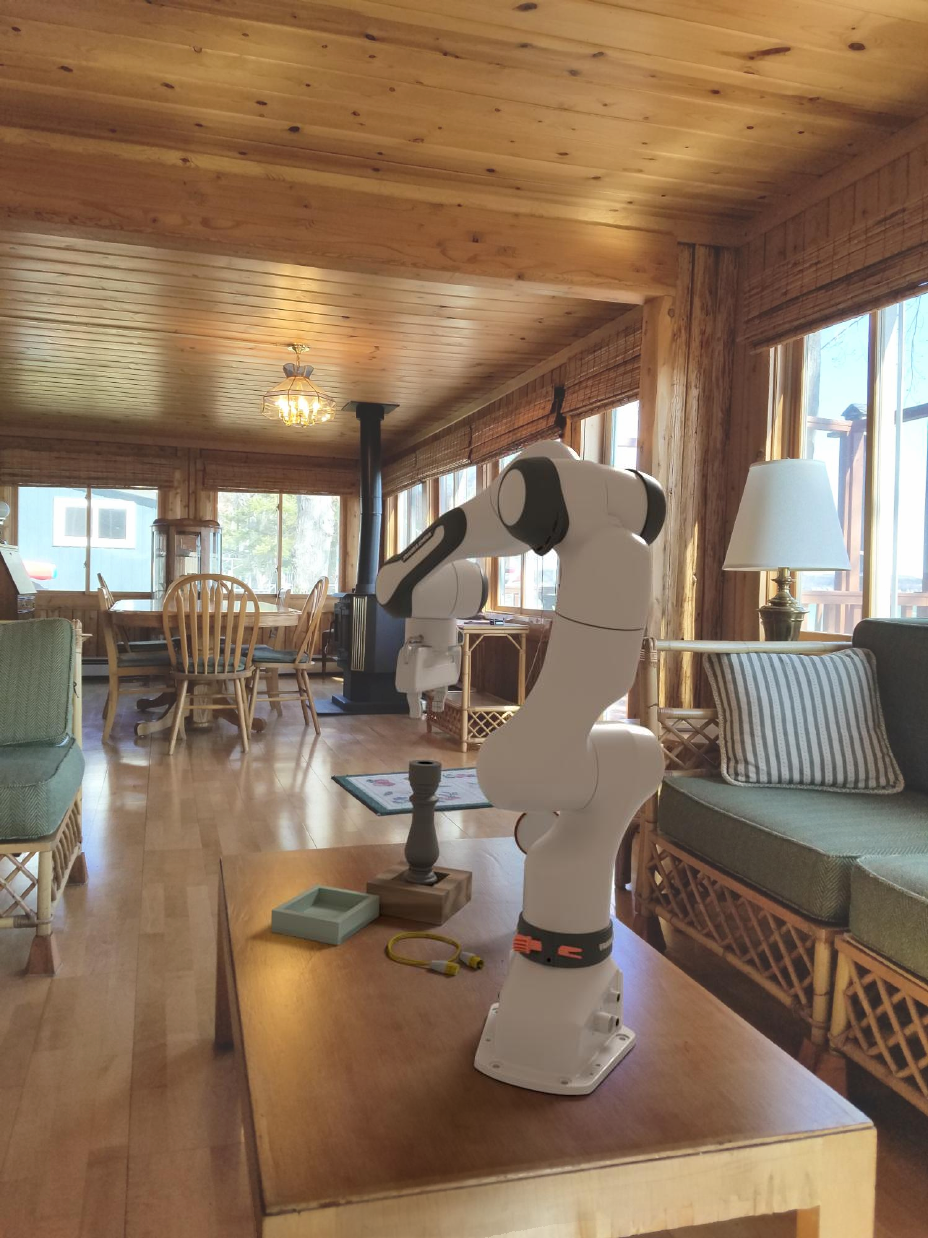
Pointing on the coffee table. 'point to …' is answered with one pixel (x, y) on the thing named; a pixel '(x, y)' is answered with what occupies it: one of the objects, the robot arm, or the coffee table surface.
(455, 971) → the extension cord
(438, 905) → the socket block
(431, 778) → the candle holder
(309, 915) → the parts tray
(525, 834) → the magnifying glass
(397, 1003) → the coffee table surface
